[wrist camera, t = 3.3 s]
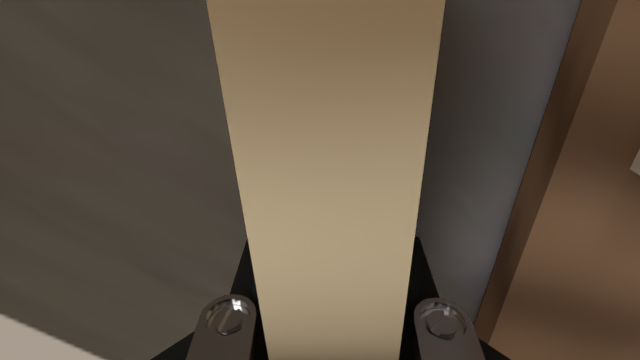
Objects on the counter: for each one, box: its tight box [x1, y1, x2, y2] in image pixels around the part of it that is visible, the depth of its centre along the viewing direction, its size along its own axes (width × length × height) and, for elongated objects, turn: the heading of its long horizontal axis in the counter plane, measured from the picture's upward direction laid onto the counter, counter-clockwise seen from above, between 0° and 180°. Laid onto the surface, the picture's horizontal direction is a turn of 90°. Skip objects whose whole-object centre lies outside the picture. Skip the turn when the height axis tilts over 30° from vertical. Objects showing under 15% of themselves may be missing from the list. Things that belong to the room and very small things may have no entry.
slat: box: [206, 0, 445, 360], centre depth 10 cm, size 18×2×6 cm, turn 2°
